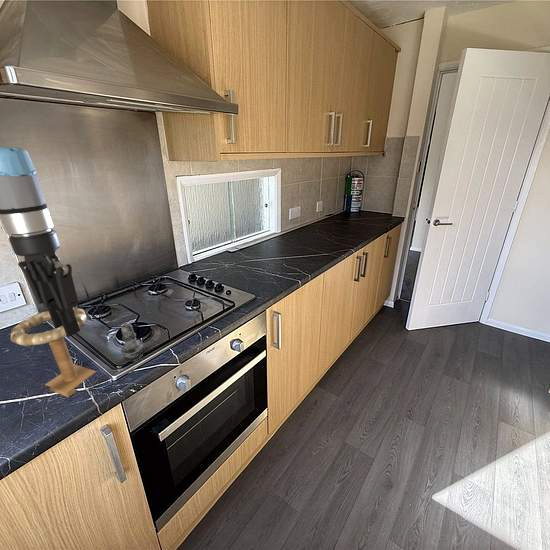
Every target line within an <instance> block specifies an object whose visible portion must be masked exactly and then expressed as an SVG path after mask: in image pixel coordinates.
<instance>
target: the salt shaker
mask: <svg viewBox="0 0 550 550" xmlns="http://www.w3.org/2000/svg"><path fill="white" fill-rule="evenodd" d="M120 331H121V334H122V337H121V339H122V340H123V342H124V344H123V346H122V347H121V349H120V353H121V354H122V355H123V356H124V358H128V359H131V360H130V361H129V362H131V361H136V360H138V359H140V358H141V357H142V356H143V353H144V352H143V350H144V343H143V342H142V341H138V340H137V337H136V336H137V333H135V331H134V328H133V325H132V324H131V323H128V322H127V321H124V323H123V325H121V328H120ZM142 352H143V353H142Z"/></svg>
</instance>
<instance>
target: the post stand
mask: <svg viewBox="0 0 550 550" xmlns="http://www.w3.org/2000/svg"><path fill="white" fill-rule="evenodd" d="M48 345H49V347H50V350H51V352H52V354H53V357H54V359H55V362H56V364H57V367H58V369H59V372H60V374H58V375H57V376H55V377H53V378H52V379H51V380H49V381H48V382H46V383H45V384H44V386H46V387H49V388H48V391H50V392H53V393H54V394H55V393H56V394H58V395H60V396H63V397H66V398H69V397H72V395H73V394H75V393H76V392H77V391H78V389H76V388H77V387H78V386H80V385H81V384H82V383H83V382H85V381H86V380H87V379H89V378H91V376H94V374H96V373H97V371H96V370H93V369H90V368H88V367H84V366H81V365H78V364H74V361H73V359H72V357H71V354H70V351H69V348H68V346H67V343H66V340H65V337H63V338H60V339H57V340H54V341H51V342H48Z"/></svg>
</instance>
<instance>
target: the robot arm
mask: <svg viewBox="0 0 550 550" xmlns="http://www.w3.org/2000/svg"><path fill="white" fill-rule="evenodd" d="M0 222H1V224H2V226H3V229H4V232H5V234H6V235H8V236H9V238H8V241H9V244H10V246H11V249H12V251H13V253H14V254H15V256H18V257H23V259H24V260H22V261H19V262H17V265H18V268H20V270H21V272H22V273H23V274H24V276H25V279H26V280H27V283H28V285H29V287H30V289H31V291H32V293H33V295H34V298H35V300H36V302H37V303H38V304H39V305H43V307H44V308H46V309H47V311H49V314H50V316H51V319H52V320H51V322H52V324H53V327H54V329H56V328H59V327H61V326H63V328H64V330H65V333H66V336H65V337H67V338H70V337H72V336H74V335H75V334H77V333H79V332H80V331H81V327H80V328H79V325H78V323H77V320H76V316H75V314H74V311H73V307H74V308H76V307H77V306H79V304H80V303H79V299H78V294H77V291H76V287H75V283H74V279H73V275H72V271H73V268H72V265H71V264H70V263H68V264H64V263H62V262H61V258H60V257H59V256H58V254H57V253H56V252H57V250H58V249H59V248H60V247H61V244H60V240H59V237H58V234H57V231H56V230H54V229H53V227H54V223H53V220H52V217H51V212H50V211H49V208H48V206H47V202H46V197H45V195H44V191H43V189H42V186H41V183H40V179H39V176H38V173H37V169H36V167H35V166H34V163H33V161H32V159H31V156H30V154H29V152H28V151H27V150H26V149H25V148H24V147H23V148H22V147H20V146H19V147H17V146H0Z"/></svg>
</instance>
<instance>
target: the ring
mask: <svg viewBox="0 0 550 550" xmlns="http://www.w3.org/2000/svg"><path fill="white" fill-rule="evenodd" d="M73 311H74V314H75V316H76V320H77V323H78V325H79V328H80V329H81V327H82V326H83V324H84V323H85V322H86V321H87V320H88V319H87V318H88V317H87V314H86V312H85V310H84V309H83V308H78V307H73ZM49 321H52V319H51V316H50V314H49V311H48V310H46V311H41V312H39V313H37V314H34V315H32V316H30V317H27V318H25V319H23V320H22V321H20V322H19V323H18V324H17V325H16V326H14V327H13V328H12V329H11V331H10V341H11V342H12V343H13V344H16V345H20V346H23V347H29V346H37V345H45V344H49V342H51V341H54V340H57V339H60V338H65V337H67V336H66V333H65V330H64V328H63V326H61V327H59V328H56V329H55V328H54V329H53V328H52V329H50V330H47V331H44V332H37V333H36V332H35V333H30V334H28V333H27V332H28V331H30V330H31V329H32V328H34V327H37V326H39V325H40V324H42V323H45V322H49Z"/></svg>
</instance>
